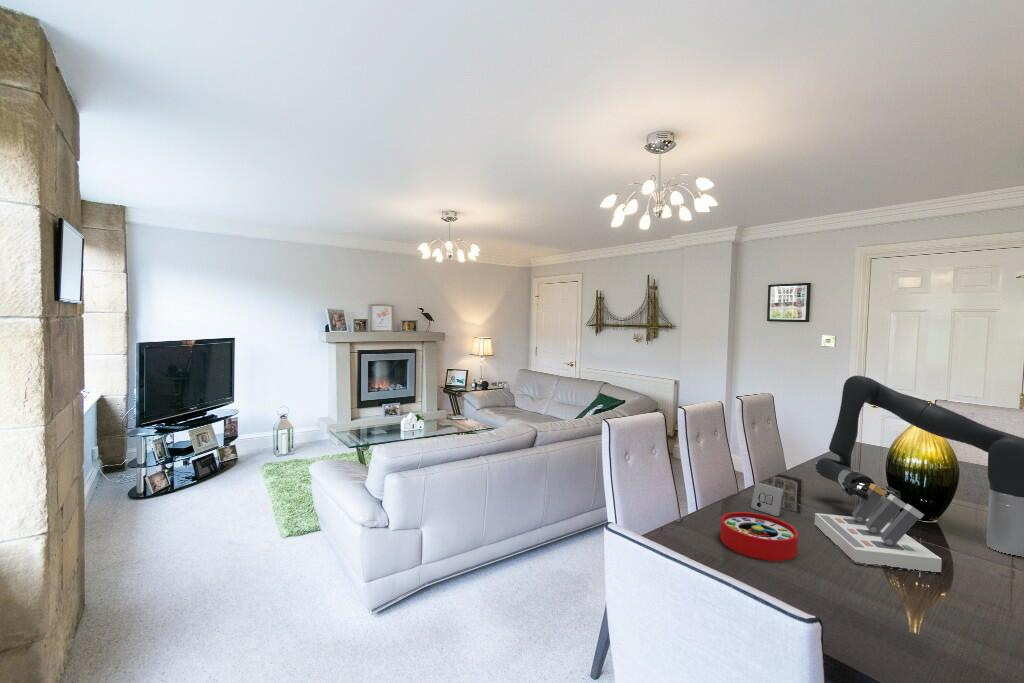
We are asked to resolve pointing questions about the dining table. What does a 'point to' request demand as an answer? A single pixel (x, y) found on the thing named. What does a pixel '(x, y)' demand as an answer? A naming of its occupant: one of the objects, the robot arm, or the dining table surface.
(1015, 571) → the dining table surface
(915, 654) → the dining table surface
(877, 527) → the breaker mid
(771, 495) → the electrical switch
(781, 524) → the toy clock
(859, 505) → the lever
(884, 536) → the lever
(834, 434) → the robot arm
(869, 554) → the panel
